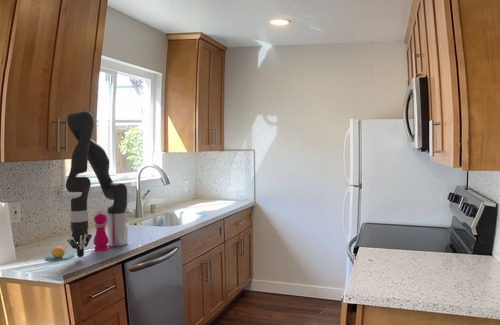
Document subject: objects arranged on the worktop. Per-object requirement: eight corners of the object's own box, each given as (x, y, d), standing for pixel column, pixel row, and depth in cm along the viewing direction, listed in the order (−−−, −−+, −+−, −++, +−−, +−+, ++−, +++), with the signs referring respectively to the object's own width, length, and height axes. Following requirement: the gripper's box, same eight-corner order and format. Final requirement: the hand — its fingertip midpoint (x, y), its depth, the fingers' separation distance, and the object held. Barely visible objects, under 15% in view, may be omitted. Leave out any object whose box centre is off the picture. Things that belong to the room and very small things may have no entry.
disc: (61, 252, 205) (61, 252, 205) (80, 255, 200) (80, 254, 200) (38, 259, 193) (38, 259, 193) (58, 262, 188) (58, 261, 188)
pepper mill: (103, 247, 215) (102, 209, 214) (111, 249, 210) (110, 210, 209) (90, 250, 209) (89, 211, 208) (98, 252, 205) (97, 212, 204)
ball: (58, 248, 200) (64, 243, 198) (61, 259, 198) (68, 254, 196) (47, 250, 195) (54, 245, 193) (51, 261, 193) (58, 255, 191)
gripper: (84, 217, 198) (85, 252, 199) (61, 221, 186) (63, 259, 187) (96, 218, 195) (97, 254, 196) (74, 222, 183) (75, 261, 184)
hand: (80, 256), depth 191 cm, fingers closed
